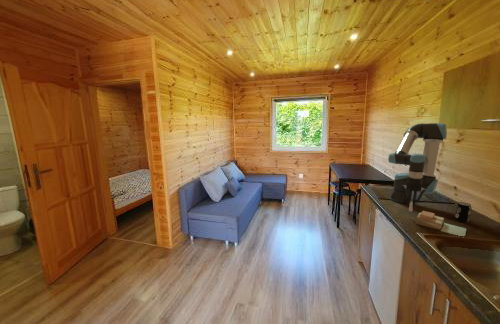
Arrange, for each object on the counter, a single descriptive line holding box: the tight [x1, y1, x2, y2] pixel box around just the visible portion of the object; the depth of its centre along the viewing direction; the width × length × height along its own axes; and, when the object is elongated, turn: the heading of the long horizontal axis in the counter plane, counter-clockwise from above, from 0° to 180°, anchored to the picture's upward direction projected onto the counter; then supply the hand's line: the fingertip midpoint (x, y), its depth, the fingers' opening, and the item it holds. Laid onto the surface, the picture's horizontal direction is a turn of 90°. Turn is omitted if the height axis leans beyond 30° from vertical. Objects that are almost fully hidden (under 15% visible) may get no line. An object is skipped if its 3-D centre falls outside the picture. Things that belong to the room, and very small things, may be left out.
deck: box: [414, 211, 445, 231], centre depth 133 cm, size 12×12×4 cm
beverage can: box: [454, 201, 472, 224], centre depth 135 cm, size 7×7×12 cm
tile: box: [420, 210, 436, 221], centre depth 133 cm, size 9×6×2 cm, turn 131°
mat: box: [440, 222, 467, 237], centre depth 124 cm, size 14×10×1 cm
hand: (410, 210), depth 140 cm, fingers closed
